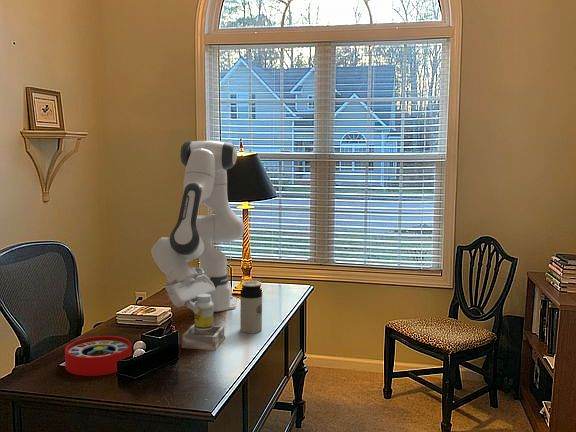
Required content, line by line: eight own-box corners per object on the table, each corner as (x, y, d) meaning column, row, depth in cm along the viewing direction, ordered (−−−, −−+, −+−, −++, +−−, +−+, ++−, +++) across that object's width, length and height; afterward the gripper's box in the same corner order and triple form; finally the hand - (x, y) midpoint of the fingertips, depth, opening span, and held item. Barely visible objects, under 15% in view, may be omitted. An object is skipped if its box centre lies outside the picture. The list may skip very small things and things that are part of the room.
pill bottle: (195, 325, 210) (195, 292, 209) (213, 325, 211) (213, 292, 210) (193, 331, 204) (193, 297, 203) (212, 330, 205) (212, 297, 203)
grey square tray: (192, 336, 215) (192, 324, 215) (225, 338, 213) (225, 326, 213) (181, 347, 204) (181, 334, 203) (215, 350, 202) (215, 337, 201)
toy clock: (98, 332, 201) (144, 342, 192) (98, 349, 202) (145, 359, 193) (50, 350, 184) (99, 362, 175) (51, 368, 184) (99, 381, 175)
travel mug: (235, 330, 223) (236, 282, 221) (251, 325, 229) (251, 279, 226) (250, 335, 218) (251, 286, 215) (266, 330, 223) (266, 283, 221)
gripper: (168, 278, 200) (191, 311, 196) (205, 267, 217) (227, 297, 214) (157, 289, 202) (180, 322, 199) (195, 278, 220) (217, 308, 217)
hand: (205, 309), depth 206 cm, fingers closed on pill bottle, 6 cm apart
